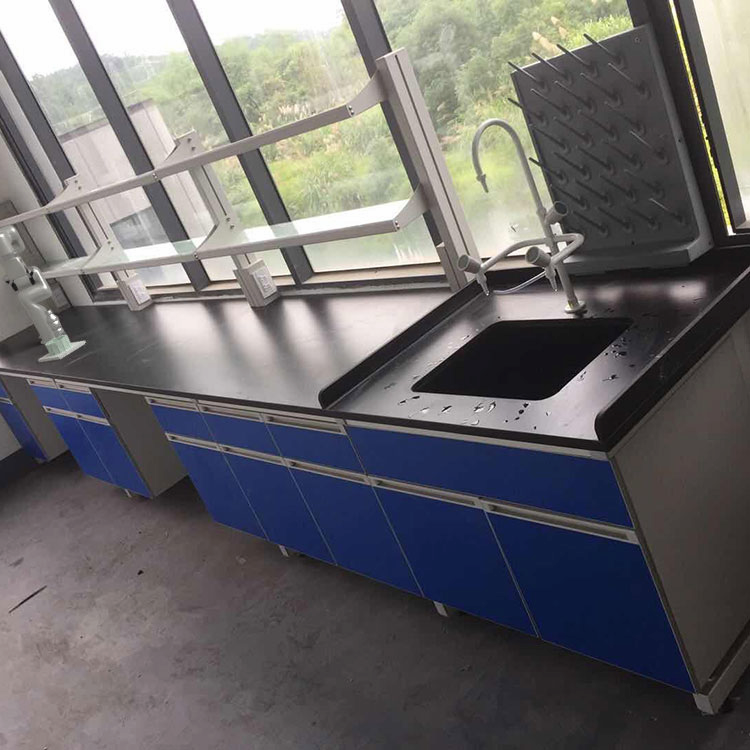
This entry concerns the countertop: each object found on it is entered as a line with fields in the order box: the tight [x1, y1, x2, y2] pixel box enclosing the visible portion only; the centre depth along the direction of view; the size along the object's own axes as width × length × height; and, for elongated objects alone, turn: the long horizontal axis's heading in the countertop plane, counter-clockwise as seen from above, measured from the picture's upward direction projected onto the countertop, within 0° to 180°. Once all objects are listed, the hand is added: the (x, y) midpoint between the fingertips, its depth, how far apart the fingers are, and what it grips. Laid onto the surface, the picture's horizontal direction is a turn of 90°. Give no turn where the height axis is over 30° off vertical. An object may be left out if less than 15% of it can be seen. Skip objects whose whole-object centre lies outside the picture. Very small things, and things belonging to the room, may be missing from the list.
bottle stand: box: [37, 335, 87, 363], centre depth 414 cm, size 18×18×8 cm
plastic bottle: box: [45, 309, 70, 340], centre depth 430 cm, size 6×7×20 cm
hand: (25, 287), depth 416 cm, fingers open, 9 cm apart
